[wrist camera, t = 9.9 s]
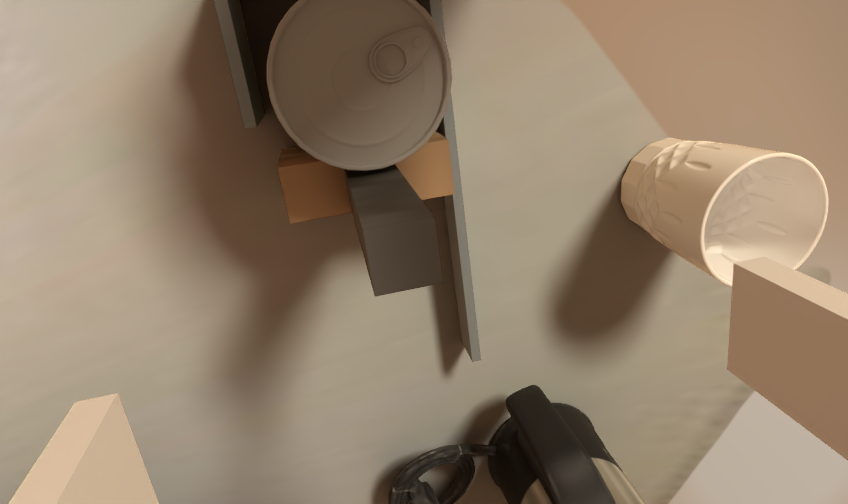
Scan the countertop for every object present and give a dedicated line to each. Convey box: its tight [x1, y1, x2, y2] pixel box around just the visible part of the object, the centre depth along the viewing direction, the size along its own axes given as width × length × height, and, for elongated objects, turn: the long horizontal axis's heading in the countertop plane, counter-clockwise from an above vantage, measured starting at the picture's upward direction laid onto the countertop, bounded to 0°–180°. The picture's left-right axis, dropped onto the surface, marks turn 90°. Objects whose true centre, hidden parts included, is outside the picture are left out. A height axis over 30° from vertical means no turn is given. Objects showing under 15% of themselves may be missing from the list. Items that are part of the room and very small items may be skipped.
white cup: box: [621, 138, 828, 287], centre depth 37 cm, size 8×8×10 cm
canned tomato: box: [267, 0, 452, 171], centre depth 30 cm, size 8×8×11 cm
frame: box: [214, 0, 481, 362], centre depth 34 cm, size 12×26×6 cm, turn 8°
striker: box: [278, 131, 455, 296], centre depth 28 cm, size 9×3×18 cm, turn 98°
